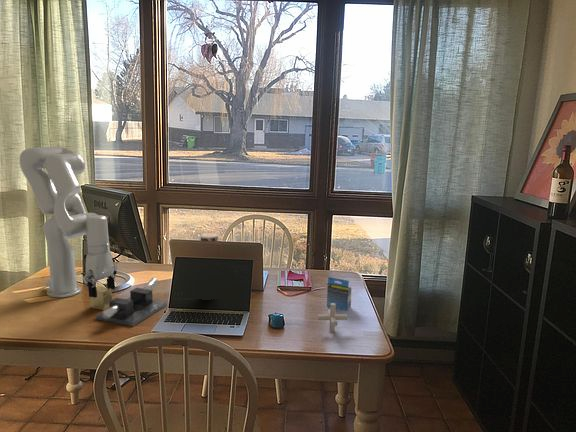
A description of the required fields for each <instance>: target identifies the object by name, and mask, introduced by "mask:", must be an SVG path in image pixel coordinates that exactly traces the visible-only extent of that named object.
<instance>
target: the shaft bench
mask: <svg viewBox="0 0 576 432" xmlns="http://www.w3.org/2000/svg"><path fill="white" fill-rule="evenodd" d="M158 284H159V280H158V279H157V278H156V277H151V279H150V280H149V281H148V282H147V283H146V284H145V286H143V288H140V287H136V288H134V289H131V290H130V291H129V292H130V296H129V297H127V298H126V299H125V298H119V297H115V298H114V299H113V298H112V300H111V301H110V302H109V305H110V307H109V308H107V309H105V310H102V311H100V312H99V313H97V314H95V319H96V320H99V321H104V322H108V323H109V322H110V323H114V324H119V325H124V326H129V327H134V326H136V325H137V324H139V323H141V322H142V321H144V320H146V319H147V318H149V317H151V316H153V315H154V314H155V313H157V312H158V311H161V310H162V309H164V308H165V307H167V302H166V301H160V300H155V299H154V298H153V290H154V288H155V287H156V286H157V285H158ZM134 309H136V311H134ZM137 309H138V310H137Z"/></svg>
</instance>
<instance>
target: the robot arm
mask: <svg viewBox="0 0 576 432" xmlns="http://www.w3.org/2000/svg"><path fill="white" fill-rule="evenodd" d="M19 166H20V169H21V172H22V173H23V175H24V177H25V178H26V180H27V181H28V183H29V185H30V187H31V189H32V192H33V194H34V198H35V199H36V203H37V205H38V208H39V210H40V212H41V213H42V214H43V215H44V216H53V217H51V218H48V219H46V220H45V222H44V223H43V226H42V227H43V228H42V229H43V234H44V238H45V242H46V246H47V257H48V267H49V279H47V281H46V282H45V283H44V285H45V286H47V287H49V289H48V290H47V291H46V294H47V296H48V297H52V298H68V297H71V296H75V295H77V294H80V293H81V291H82V287H81V286H80V285H78V283H77V273H76V271H77V270H76V258H75V257H76V256H75V255H76V254H75V249H74V246H73V245H72V244H71V243H70V242H69V240H70V239H73V238H80V237H83V236H86V245H87V254H86V256H85V257H86V258H85V275H84V276H83V277H82V281H83V283H84V285H85V286H86V287H87V289H88V296H89V297H94V298H96V297H97V289H96V287H97V286H96V284H97V283H98V281H102V280H103V279H106V288H111V290H115V289H116V284H115V282H116V281H115V279H116V275H117V273H118V272H117V270H118V265H117V264H114V262H113V256H112V251H111V250H110V238H109V236H110V235H109V229H108V228H109V226H108V224H109V223H108V218H107V216H105V215H101V214H97V213H94V212H86V209H85V207H84V204H83V200H82V199H81V196H80V195H79V193H80V190H81V188H82V187H81V185H80V183H79V180H78V179H77V177H76V175H81V174H83V173H84V172H85V169H86V163H85V161H84V159H83V157H82V155H80V154H79V153H77V152H76V151H74V150H71V149H68V148H67V147H64V146H39V147H38V146H37V147H30V148H27V149H23V150H22V151H21V153H20V155H19ZM43 169H45V170H46V171H44V170H43ZM89 297H88V298H89Z"/></svg>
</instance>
